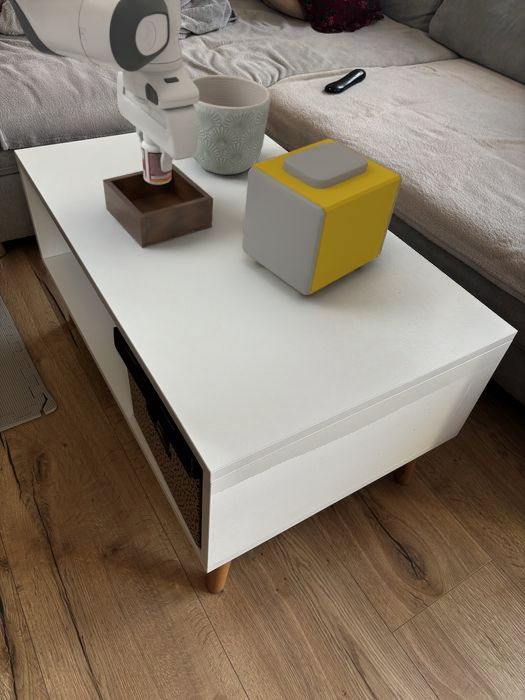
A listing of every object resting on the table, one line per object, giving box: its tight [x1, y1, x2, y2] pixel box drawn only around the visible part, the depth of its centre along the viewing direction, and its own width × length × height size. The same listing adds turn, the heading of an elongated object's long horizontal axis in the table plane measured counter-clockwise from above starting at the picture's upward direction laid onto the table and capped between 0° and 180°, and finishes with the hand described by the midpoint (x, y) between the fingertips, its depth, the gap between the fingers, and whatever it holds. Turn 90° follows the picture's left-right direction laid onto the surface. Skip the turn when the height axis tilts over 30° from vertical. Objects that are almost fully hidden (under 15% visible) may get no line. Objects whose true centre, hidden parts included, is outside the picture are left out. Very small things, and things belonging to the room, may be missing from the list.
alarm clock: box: [242, 137, 403, 296], centre depth 88 cm, size 20×16×18 cm
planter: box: [191, 74, 272, 175], centre depth 111 cm, size 17×17×15 cm
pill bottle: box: [140, 132, 172, 185], centre depth 91 cm, size 5×5×8 cm
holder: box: [102, 163, 214, 249], centre depth 97 cm, size 14×14×6 cm
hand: (156, 161), depth 92 cm, fingers closed on pill bottle, 5 cm apart
